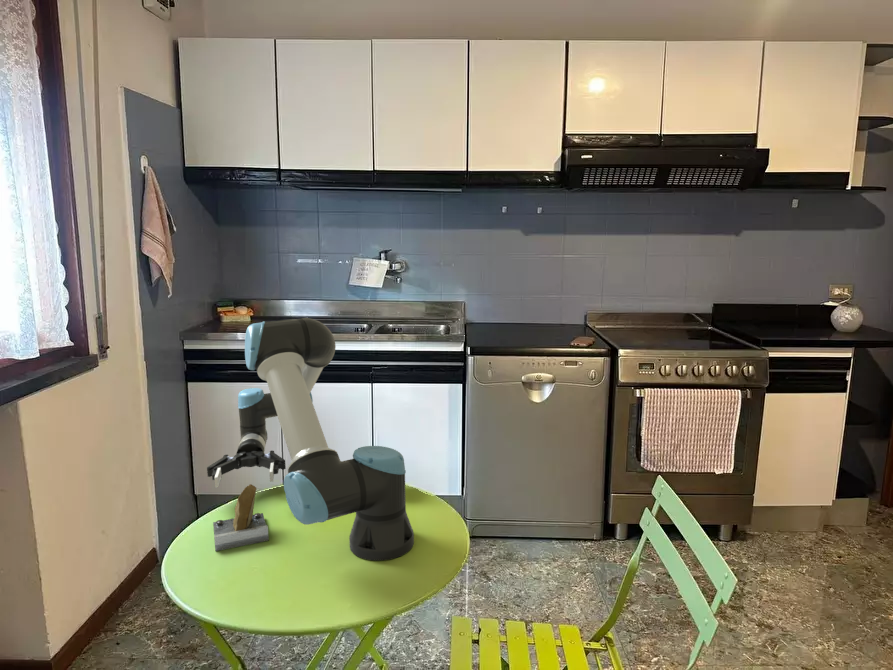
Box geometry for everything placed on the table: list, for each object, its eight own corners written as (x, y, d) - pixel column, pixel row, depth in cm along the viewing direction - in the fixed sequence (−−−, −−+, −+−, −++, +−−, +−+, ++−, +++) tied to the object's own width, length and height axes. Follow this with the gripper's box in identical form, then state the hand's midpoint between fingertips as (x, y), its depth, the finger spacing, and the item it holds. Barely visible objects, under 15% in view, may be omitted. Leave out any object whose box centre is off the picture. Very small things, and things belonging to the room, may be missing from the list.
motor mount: (268, 540, 144) (267, 526, 144) (215, 551, 140) (214, 537, 139) (263, 518, 155) (262, 505, 155) (213, 527, 151) (212, 514, 150)
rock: (251, 532, 141) (274, 507, 150) (227, 504, 140) (252, 481, 149) (224, 550, 145) (248, 525, 154) (201, 523, 145) (227, 500, 154)
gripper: (295, 458, 180) (294, 487, 159) (207, 467, 174) (194, 498, 154) (294, 434, 178) (292, 461, 158) (204, 442, 173) (191, 470, 152)
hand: (244, 479), depth 156 cm, fingers open, 13 cm apart
